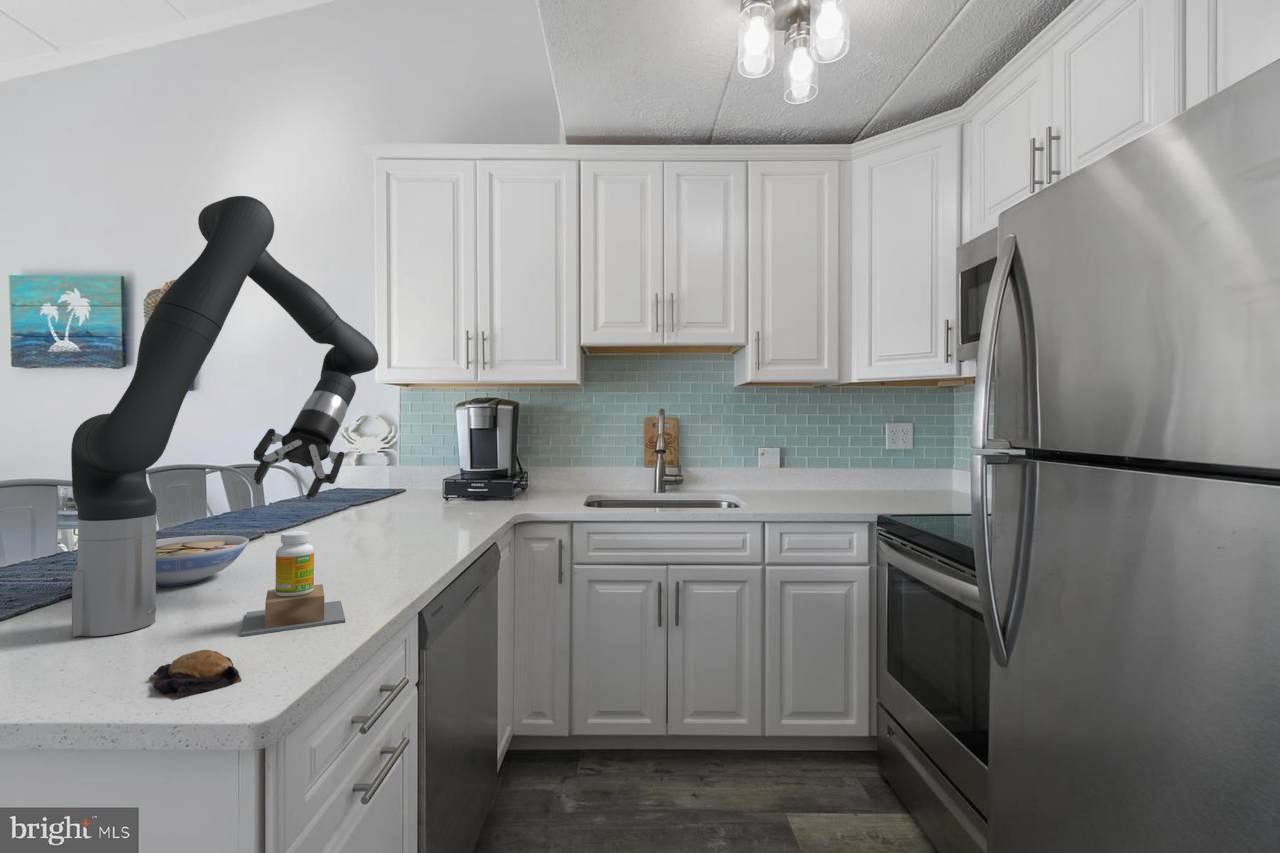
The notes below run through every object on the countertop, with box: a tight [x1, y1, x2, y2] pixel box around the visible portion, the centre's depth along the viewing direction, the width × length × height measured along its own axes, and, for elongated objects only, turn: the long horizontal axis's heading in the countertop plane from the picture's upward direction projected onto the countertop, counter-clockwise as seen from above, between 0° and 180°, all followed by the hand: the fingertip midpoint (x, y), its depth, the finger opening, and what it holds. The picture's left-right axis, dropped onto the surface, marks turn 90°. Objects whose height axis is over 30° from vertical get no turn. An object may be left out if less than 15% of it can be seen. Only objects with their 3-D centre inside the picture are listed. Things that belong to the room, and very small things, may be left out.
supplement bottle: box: [275, 530, 315, 597], centre depth 97 cm, size 5×5×10 cm
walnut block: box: [264, 583, 325, 629], centre depth 97 cm, size 8×8×4 cm
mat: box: [240, 600, 346, 637], centre depth 98 cm, size 14×12×1 cm
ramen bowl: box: [156, 534, 250, 587], centre depth 120 cm, size 25×23×8 cm
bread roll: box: [149, 649, 242, 701], centre depth 74 cm, size 11×8×4 cm
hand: (283, 490), depth 108 cm, fingers open, 8 cm apart
